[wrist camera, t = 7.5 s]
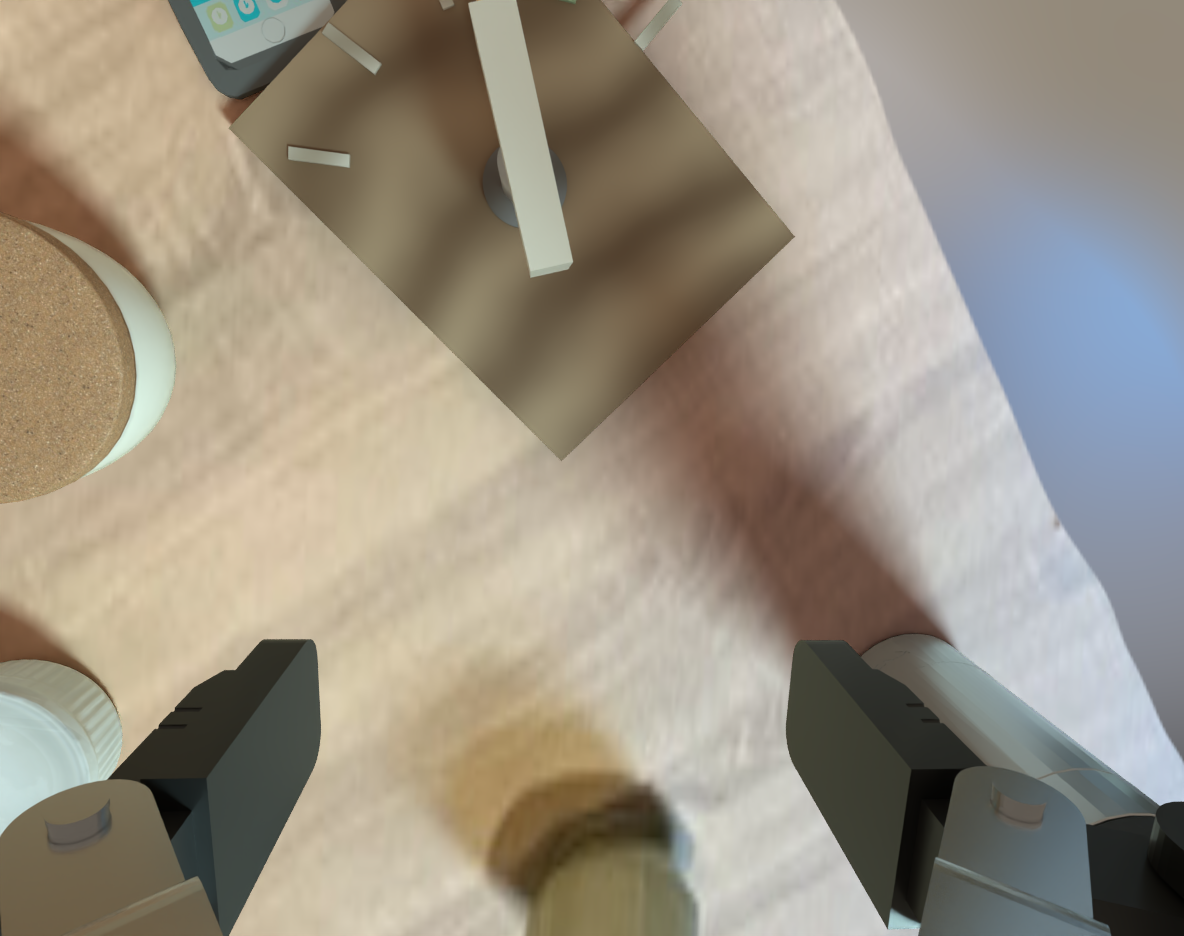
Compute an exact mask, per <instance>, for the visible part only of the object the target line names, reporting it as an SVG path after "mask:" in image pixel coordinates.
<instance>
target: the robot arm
mask: <svg viewBox="0 0 1184 936" xmlns="http://www.w3.org/2000/svg"><path fill="white" fill-rule="evenodd" d="M320 737H321V720H320V700H319V680H318V660H317V650H316V645H315V643H314V641H313V640H311V639H264V640H262V641H261V642H260V643H259V644H258V645H257V646H256V647H255V648H254V649H253V651H252V652H251V653H250V654H249V655H248V656H247V657H246V659H245V660H244V661H243V662H242V663H241V664H240V665H239V667H238V668H237V669H236V670H224V671H222V672H220V673H219V674H217V675H215V676H213V677H212V678H210V679H208V680H206V681H205V682H203V683H201V684H199V685H198V686H196V687H194V688H193V689H192V690H191V691H190V692H189V693H188V695H187V696H186V697H185V698H184V699H183V700H182V701H181V702H180V703H179V704H178V705H177V706H176V707H175V711H174V712H170V714H169V715H168V716H167V717H166V718H165V719H164V720H163V721H162V722H161V723H160V724H159V728H158V729H154V730H153V731H152V733H151V734H150V735H149V736H148V737H147V738H146V739H145V740H144V741H143V742H142V743H141V744H140V745H139V746H138V747H137V748H136V749H135V750H134V752H133V753H132V754H131V755H130V756H129V757H128V758H127V759H126V760H125V761H124V762H123V763H122V764H121V765H120V766H119V767H118V768H117V769H116V771H115V772H114V773H113V774H112V775H111V776H110V777H109V778H108V779H107V780H102V781H96V782H91V783H86V784H83V785H79V786H76V787H72V788H70V789H67V790H64V791H61V792H59V793H57V794H54V795H52V796H50V797H48V798H46V799H44V800H42V801H40V802H39V803H37V804H35V805H33V806H32V807H30V808H29V809H27V810H26V811H24V812H23V813H22V814H20V815H19V816H18V817H17V818H15V819H14V820H13V821H12V822H11V823H10V824H9V825H8V826H7V827H6V829H5V830H4V832H3V833H2V834H1V836H0V936H229V934H230V932H231V930H232V928H233V926H234V924H235V922H236V920H237V919H238V917H239V915H240V913H241V911H242V909H243V907H244V905H245V903H246V901H247V899H248V897H249V895H250V893H251V891H252V889H253V887H254V885H255V883H256V881H257V879H258V877H259V875H260V873H261V871H262V869H263V867H264V865H265V863H266V861H267V859H268V857H269V855H270V853H271V852H272V850H273V848H274V846H275V844H276V842H277V840H278V838H279V836H280V834H281V832H282V830H283V828H284V826H285V824H286V822H287V820H288V818H289V816H290V814H291V812H292V810H293V808H294V806H295V804H296V802H297V800H298V798H299V796H300V794H301V792H302V790H303V788H304V787H305V785H306V783H307V781H308V779H309V777H310V775H311V773H312V771H313V768H314V766H315V763H316V760H317V756H318V752H319V746H320ZM786 738H787V745H788V750H789V754H790V757H791V760H792V762H793V764H794V766H795V768H796V770H797V771H798V773H799V775H800V777H801V778H802V780H803V782H804V784H805V785H806V787H807V789H808V791H809V792H810V794H811V796H812V798H813V799H814V801H815V803H816V805H817V806H818V808H819V810H820V812H821V813H822V815H823V817H824V819H825V820H826V822H827V824H828V826H829V827H830V829H831V831H832V833H833V834H834V836H835V838H836V840H837V841H838V843H839V845H840V847H841V848H842V850H843V852H844V854H845V855H846V857H847V859H848V861H849V862H850V864H851V866H852V868H853V869H854V871H855V873H856V875H857V876H858V878H859V880H860V882H861V883H862V885H863V887H864V889H865V890H866V892H867V894H868V896H869V897H870V899H871V901H872V903H873V904H874V906H875V908H876V910H877V911H878V913H879V915H880V916H881V918H882V920H883V922H884V923H885V925H886V927H887V929H913V928H920V930H919V934H918V936H1184V802H1170V803H1165V804H1163V805H1161V806H1159V805H1158V804H1157V803H1155V802H1154V801H1153V800H1152V799H1150V798H1149V797H1148V796H1146V795H1145V794H1144V793H1142V792H1141V791H1140V790H1139V789H1137V788H1136V787H1135V786H1133V785H1132V784H1131V783H1129V782H1128V781H1126V780H1125V779H1124V778H1122V777H1121V776H1120V775H1118V774H1117V773H1116V772H1115V771H1113V770H1112V769H1111V768H1109V767H1108V766H1107V765H1105V764H1104V763H1103V762H1102V761H1100V760H1099V759H1098V758H1096V757H1095V756H1094V755H1092V754H1091V753H1090V752H1089V751H1087V750H1086V749H1085V748H1083V747H1082V746H1081V745H1079V744H1078V743H1077V742H1076V741H1074V740H1073V739H1072V738H1070V737H1069V736H1068V735H1066V734H1065V733H1064V732H1063V731H1061V730H1060V729H1059V728H1057V727H1056V726H1055V725H1053V724H1052V723H1051V722H1050V721H1048V720H1047V719H1046V718H1044V717H1043V716H1042V715H1040V714H1039V713H1038V712H1037V711H1035V710H1034V709H1033V708H1031V707H1030V706H1029V705H1027V704H1026V703H1025V702H1024V701H1022V700H1021V699H1020V698H1018V697H1017V696H1016V695H1014V694H1013V693H1012V692H1011V691H1009V690H1008V689H1007V688H1005V687H1004V686H1003V685H1001V684H1000V683H999V682H998V681H996V680H995V679H994V678H993V677H991V676H990V675H989V674H988V673H986V672H985V671H984V670H982V669H981V668H980V667H978V666H977V665H976V664H975V663H973V662H972V661H971V660H969V659H968V658H967V657H965V656H964V655H963V654H961V653H960V652H959V651H958V650H956V649H955V648H954V647H952V646H951V645H949V644H948V643H946V642H945V641H943V640H941V639H938V638H936V637H933V636H930V635H923V634H904V635H900V636H896V637H892V638H889V639H887V640H885V641H883V642H880V643H878V644H876V645H875V646H873V647H872V648H871V649H869V650H868V651H867V652H865V653H864V654H863V655H862V656H861V657H860V656H859V655H858V654H857V653H856V652H855V650H854V649H853V648H852V647H851V646H850V645H849V644H848V643H847V642H845V641H843V640H801V641H799V642H798V643H797V644H796V646H795V649H794V653H793V661H792V671H791V681H790V690H789V700H788V710H787V720H786Z"/></svg>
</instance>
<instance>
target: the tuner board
mask: <svg viewBox="0 0 1184 936" xmlns="http://www.w3.org/2000/svg"><path fill="white" fill-rule="evenodd" d="M475 1H476V0H347V1H346V2H345V4H344V5H343V6H342V7H341V8H340V9H339V10H338V11H337V12H336V13H335V14H334V15H333V16H332V17H331V19H330V20H329V21H328V22H327V23H326V24H325V25H324V26H323V27H322V28H321V29H320V30H319V31H318V33H317V34H316V35H315V36H314V37H313V38H312V39H311V40H310V41H309V42H308V43H307V44H306V45H305V47H304V48H303V49H302V50H301V51H300V52H299V53H298V54H297V55H296V56H295V57H294V58H293V59H292V61H291V62H290V63H289V64H288V65H287V66H286V67H285V68H284V69H283V70H282V71H281V72H280V73H279V75H278V76H277V77H276V78H275V79H274V80H273V81H272V82H271V83H270V84H269V85H268V86H267V87H266V88H265V90H264V91H263V92H262V93H261V94H260V95H259V96H258V97H257V98H256V99H255V100H254V101H253V102H252V104H251V105H250V106H249V107H248V108H247V109H246V110H245V111H244V112H243V113H242V114H241V115H240V116H239V118H238V119H237V120H236V121H235V122H234V123H233V124H232V125H231V126H230V127H229V129H230V130H231V131H232V132H233V133H234V134H235V135H236V136H237V137H238V138H239V139H240V140H241V141H242V142H243V143H244V144H245V145H246V146H247V147H248V148H249V149H250V150H251V151H252V152H253V153H254V154H255V155H256V156H257V157H258V158H259V159H260V160H261V161H262V162H263V163H264V164H265V165H266V166H267V167H268V168H269V169H270V170H271V171H272V172H273V173H274V174H275V175H276V176H277V177H278V178H279V179H280V180H281V181H282V182H283V183H284V184H285V185H286V186H287V187H288V188H289V189H290V190H291V191H292V192H293V193H294V194H295V195H296V196H297V197H298V198H299V199H300V200H301V201H302V202H303V203H304V204H305V205H306V206H307V207H308V208H309V209H310V210H311V211H312V212H313V213H314V214H315V215H316V216H317V217H318V218H319V219H320V220H321V221H322V222H323V223H324V224H325V225H326V226H327V227H328V228H329V229H330V230H331V231H332V232H333V233H334V234H335V235H336V236H337V237H338V238H339V239H340V240H341V241H342V242H343V243H344V244H345V245H346V246H347V247H348V248H349V249H350V250H351V251H352V252H353V253H354V254H355V255H356V256H357V257H358V258H359V259H360V260H361V261H362V262H363V263H364V264H365V265H366V266H367V267H368V268H369V269H370V270H371V271H372V272H373V273H374V274H375V275H376V276H377V277H378V278H379V279H380V280H381V281H382V282H383V283H384V284H385V285H386V286H387V287H388V288H389V289H390V290H391V291H392V292H393V293H394V294H395V295H396V296H397V297H398V298H399V299H400V300H401V301H402V302H403V303H404V304H405V305H406V306H407V307H408V308H409V309H410V310H411V311H412V312H413V313H414V314H415V315H416V316H417V317H418V318H419V319H420V320H421V321H422V322H423V323H424V324H425V325H426V326H427V327H428V328H429V329H430V330H431V331H432V332H433V333H434V334H435V335H436V336H437V337H438V338H439V339H440V340H441V341H442V342H443V343H444V344H445V345H446V346H447V347H448V348H449V349H450V350H451V351H452V352H453V353H454V354H455V355H456V356H457V357H458V358H459V359H460V360H461V361H462V362H463V363H464V364H465V365H466V366H467V367H468V368H469V369H470V370H471V371H472V372H473V373H474V374H475V375H476V376H477V377H478V378H479V379H480V380H481V381H482V382H483V383H484V384H485V385H486V386H487V387H488V388H489V389H490V390H491V391H492V392H493V393H494V394H495V395H496V396H497V397H498V398H499V399H500V400H501V401H502V402H503V403H504V404H505V405H506V406H507V407H508V408H509V409H510V410H511V411H512V412H513V413H514V414H515V415H516V416H517V417H518V418H519V419H520V420H521V421H522V422H523V423H524V424H525V425H526V426H527V427H528V428H529V429H530V430H531V431H532V432H533V433H534V434H535V435H536V436H537V437H538V438H539V439H540V440H541V441H542V442H543V443H544V444H545V445H546V446H547V447H548V448H549V449H550V450H551V451H552V452H553V453H554V454H555V455H556V456H557V457H558V458H559V459H560V460H561V461H562V460H563V459H564V458H565V457H566V456H567V455H568V454H569V453H570V452H571V451H572V450H573V449H575V448H576V447H577V446H578V445H579V444H580V443H581V442H582V441H583V440H584V439H585V438H586V437H587V436H588V435H589V434H590V433H591V432H592V431H593V430H594V429H595V428H596V427H597V426H598V425H599V424H601V423H602V422H603V421H604V420H605V419H606V418H607V417H608V416H609V415H610V414H611V413H612V412H613V411H614V410H615V409H616V408H617V407H618V406H619V405H620V404H621V403H622V402H623V401H624V400H625V399H627V398H628V397H629V396H630V395H631V394H632V393H633V392H634V391H635V390H636V389H637V388H638V387H639V386H640V385H641V384H642V383H643V382H644V381H645V380H646V379H647V378H648V377H649V376H650V375H651V374H653V373H654V372H655V371H656V370H657V369H658V368H659V367H660V366H661V365H662V364H663V363H664V362H665V361H666V360H667V359H668V358H669V357H670V356H671V355H672V354H673V353H674V352H675V351H676V350H677V349H679V348H680V347H681V346H682V345H683V344H684V343H685V342H686V341H687V340H688V339H689V338H690V337H691V336H692V335H693V334H694V333H695V332H696V331H697V330H698V329H699V328H700V327H701V326H702V325H703V324H704V323H706V322H707V321H708V320H709V319H710V318H711V317H712V316H713V315H714V314H715V313H716V312H717V311H718V310H719V309H720V308H721V307H722V306H723V305H724V304H725V303H726V302H727V301H728V300H729V299H730V298H732V297H733V296H734V295H735V294H736V293H737V292H738V291H739V290H740V289H741V288H742V287H743V286H744V285H745V284H746V283H747V282H748V281H749V280H750V279H751V278H752V277H753V276H754V275H755V274H756V273H758V272H759V271H760V270H761V269H762V268H763V267H764V266H765V265H766V264H767V263H768V262H769V261H770V260H771V259H772V258H773V257H774V256H775V255H776V254H777V253H778V252H779V251H780V250H781V249H782V248H784V247H785V246H786V245H787V244H788V243H789V242H790V241H791V240H792V239H793V238H794V237H795V236H794V235H793V234H792V233H791V232H790V230H789V229H788V228H787V227H786V225H785V224H784V223H783V222H782V221H781V219H780V218H779V217H778V216H777V214H776V213H775V212H774V211H773V210H772V208H771V207H770V206H769V205H768V204H767V202H766V201H765V200H764V199H763V197H762V196H761V195H760V194H759V193H758V191H757V190H756V189H755V188H754V186H753V185H752V184H751V183H750V182H749V180H748V179H747V178H746V177H745V176H744V174H743V173H742V172H741V171H740V169H739V168H738V167H737V166H736V165H735V163H734V162H733V161H732V160H731V158H730V157H729V156H728V155H727V154H726V152H725V151H724V150H723V149H722V148H721V146H720V145H719V144H718V143H717V141H716V140H715V139H714V138H713V137H712V135H711V134H710V133H709V132H708V130H707V129H706V128H705V127H704V126H703V124H702V123H701V122H700V121H699V120H698V118H697V117H696V116H695V115H694V113H693V112H692V111H691V110H690V109H689V107H688V106H687V105H686V104H685V102H684V101H683V100H682V99H681V98H680V96H679V95H678V94H677V93H676V92H675V90H674V89H673V88H672V87H671V85H670V84H669V83H668V82H667V81H666V79H665V78H664V77H663V76H662V74H661V73H660V72H659V71H658V70H657V68H656V67H655V66H654V65H653V64H652V62H651V61H650V60H649V59H648V57H647V56H646V55H645V54H644V53H643V51H644V49H645V48H646V47H647V46H648V45H649V43H650V42H651V41H652V40H653V39H654V37H655V36H656V35H657V34H658V32H659V31H660V30H661V29H662V28H663V26H664V25H665V24H666V23H667V22H668V20H669V19H670V18H671V17H672V15H673V14H674V13H675V12H676V11H677V9H678V8H679V7H680V6H681V5H682V2H681V1H680V0H668V1H667V3H666V4H665V5H664V6H663V7H662V9H661V10H660V11H659V12H658V14H657V15H656V16H655V17H654V18H653V20H652V21H651V22H650V23H649V24H648V26H647V27H646V28H645V29H644V31H643V32H642V33H641V34H640V35H639V37H638V38H637V39H636V40H635V42H634V40H633V39H632V38H631V37H630V36H629V34H628V33H627V32H626V31H625V29H624V28H623V27H622V26H621V25H620V23H619V22H618V21H617V20H616V18H615V17H614V16H613V15H612V14H611V12H610V11H609V10H608V9H607V7H606V6H605V5H604V4H603V3H602V1H601V0H516V2H517V6H518V11H519V16H520V20H521V25H522V29H523V34H524V39H525V43H526V48H527V52H528V57H529V61H530V66H531V71H532V75H533V80H534V84H535V89H536V94H537V98H538V103H539V107H540V112H541V117H542V121H543V126H544V130H545V135H546V140H547V144H548V149H549V153H550V158H551V162H552V167H553V172H554V176H555V181H556V185H557V190H558V195H559V199H560V204H561V208H562V213H563V218H564V222H565V227H566V231H567V236H568V241H569V245H570V250H571V254H572V259H573V263H572V264H571V266H570V267H569V269H567V270H563V271H558V272H554V273H550V274H545V275H541V276H536V277H532V278H530V273H529V269H528V265H527V260H526V256H525V252H524V248H523V243H522V239H521V235H520V230H519V226H518V222H517V217H516V213H515V209H514V204H513V202H511V201H510V200H509V199H508V198H507V196H506V195H505V193H504V191H503V188H502V183H501V179H500V174H499V170H498V164H497V155H498V151H499V148H500V144H499V140H498V136H497V131H496V127H495V123H494V118H493V114H492V110H491V105H490V101H489V97H488V92H487V88H486V84H485V80H484V75H483V71H482V67H481V62H480V58H479V54H478V49H477V45H476V40H475V35H474V30H473V25H472V20H471V15H470V10H469V5H468V3H470V2H475Z"/></svg>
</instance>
